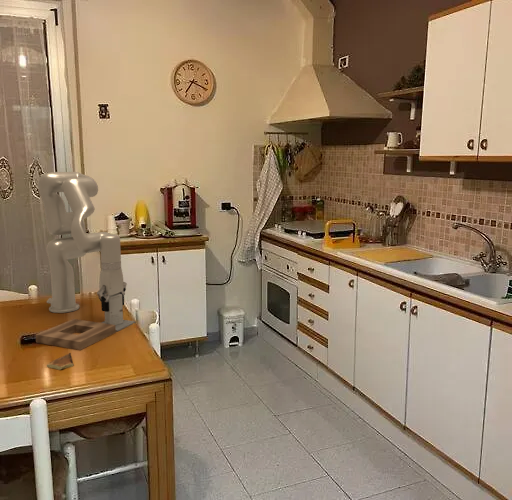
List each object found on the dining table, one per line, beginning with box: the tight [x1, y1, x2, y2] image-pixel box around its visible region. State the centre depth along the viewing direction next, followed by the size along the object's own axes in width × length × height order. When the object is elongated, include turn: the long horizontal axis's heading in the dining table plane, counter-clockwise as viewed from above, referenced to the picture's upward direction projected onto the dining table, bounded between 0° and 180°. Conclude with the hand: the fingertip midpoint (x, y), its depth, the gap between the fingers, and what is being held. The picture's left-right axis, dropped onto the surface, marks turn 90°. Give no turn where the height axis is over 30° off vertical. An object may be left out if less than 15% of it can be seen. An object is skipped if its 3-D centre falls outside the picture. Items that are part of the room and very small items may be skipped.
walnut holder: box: [35, 318, 117, 351], centre depth 194 cm, size 20×20×3 cm
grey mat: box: [100, 319, 136, 333], centre depth 209 cm, size 12×12×1 cm
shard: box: [46, 352, 75, 371], centre depth 171 cm, size 11×8×2 cm
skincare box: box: [104, 293, 124, 325], centre depth 208 cm, size 6×4×12 cm
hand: (113, 307), depth 207 cm, fingers open, 9 cm apart
